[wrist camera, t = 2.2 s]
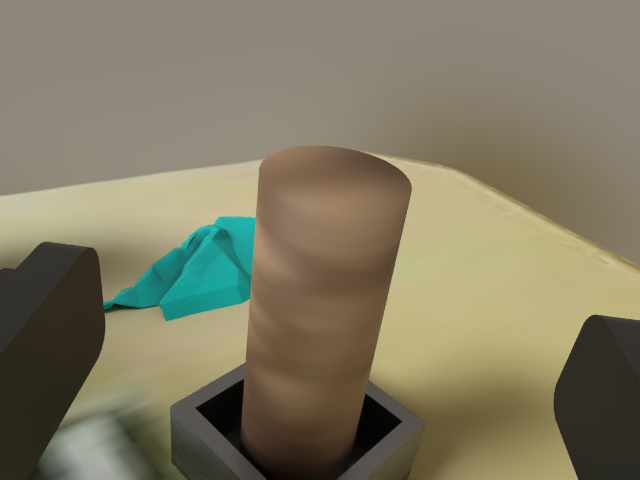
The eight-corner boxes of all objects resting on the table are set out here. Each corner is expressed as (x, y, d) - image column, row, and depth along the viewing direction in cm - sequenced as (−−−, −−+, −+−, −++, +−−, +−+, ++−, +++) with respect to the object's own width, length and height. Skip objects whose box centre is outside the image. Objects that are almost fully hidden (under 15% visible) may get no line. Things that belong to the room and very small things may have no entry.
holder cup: (171, 461, 28) (170, 406, 26) (294, 381, 34) (301, 330, 32) (289, 594, 24) (299, 539, 22) (409, 475, 29) (425, 422, 27)
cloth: (352, 205, 56) (356, 185, 55) (434, 285, 46) (441, 261, 45) (68, 243, 45) (65, 218, 44) (93, 359, 35) (90, 330, 33)
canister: (216, 457, 28) (227, 164, 20) (294, 403, 32) (331, 136, 24) (291, 536, 25) (342, 231, 17) (369, 466, 29) (441, 186, 21)
